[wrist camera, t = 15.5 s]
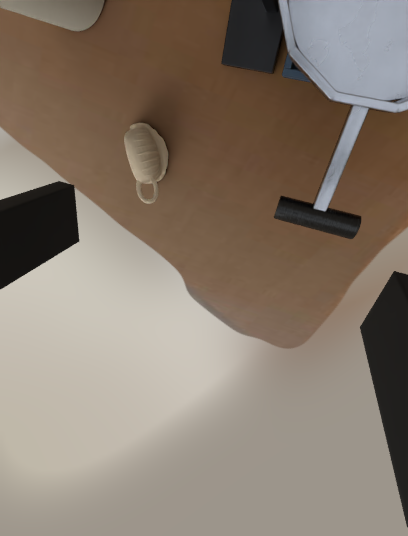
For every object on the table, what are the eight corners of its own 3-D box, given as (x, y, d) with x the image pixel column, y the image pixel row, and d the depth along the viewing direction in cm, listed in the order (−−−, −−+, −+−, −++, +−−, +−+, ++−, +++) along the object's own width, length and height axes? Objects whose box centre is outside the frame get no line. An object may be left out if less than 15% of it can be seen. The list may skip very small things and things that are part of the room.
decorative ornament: (160, 118, 33) (137, 119, 28) (176, 191, 36) (158, 203, 32) (130, 124, 34) (103, 127, 30) (148, 194, 38) (127, 206, 33)
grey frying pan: (318, -249, 14) (322, -333, 11) (696, -252, 11) (815, -360, 9) (224, 197, 25) (214, 207, 23) (399, 244, 23) (411, 261, 20)
